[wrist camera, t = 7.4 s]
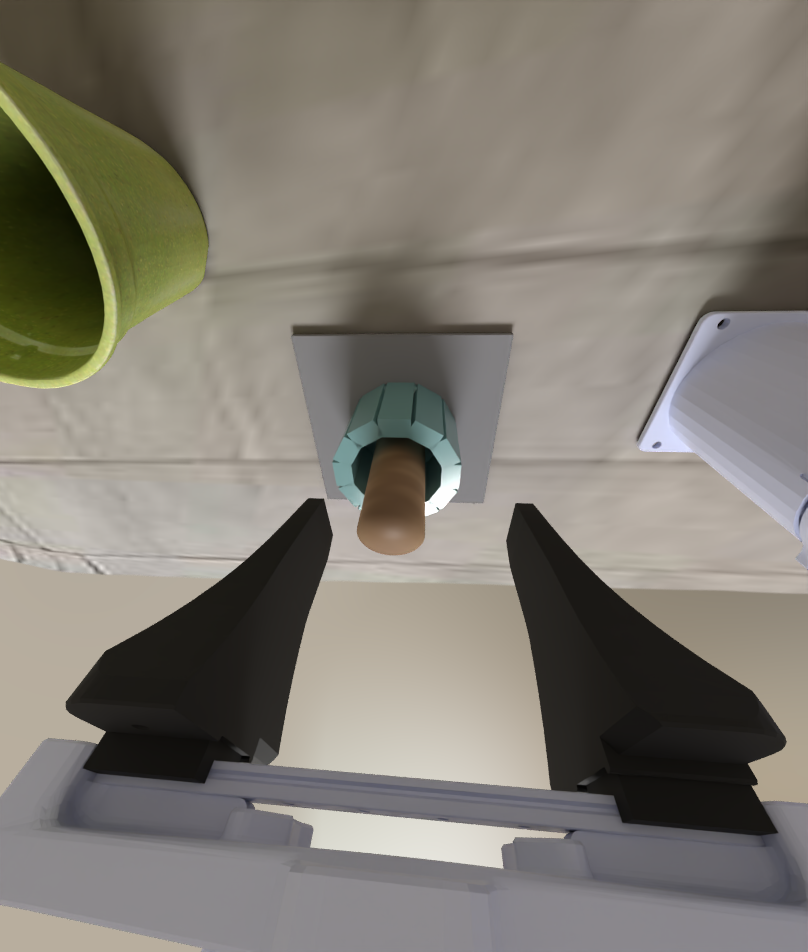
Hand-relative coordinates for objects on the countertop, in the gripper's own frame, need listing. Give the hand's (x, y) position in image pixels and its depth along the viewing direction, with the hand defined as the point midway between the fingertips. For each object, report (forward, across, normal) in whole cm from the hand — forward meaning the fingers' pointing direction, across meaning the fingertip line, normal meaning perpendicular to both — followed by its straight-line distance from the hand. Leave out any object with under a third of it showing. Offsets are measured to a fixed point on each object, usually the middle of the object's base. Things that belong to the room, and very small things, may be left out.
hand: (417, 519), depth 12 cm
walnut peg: (+9, +1, +2) cm, 9 cm away
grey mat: (+10, +1, +2) cm, 10 cm away
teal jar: (+9, +1, +2) cm, 10 cm away
